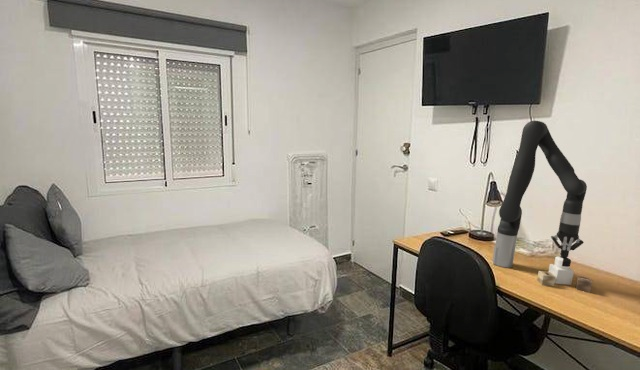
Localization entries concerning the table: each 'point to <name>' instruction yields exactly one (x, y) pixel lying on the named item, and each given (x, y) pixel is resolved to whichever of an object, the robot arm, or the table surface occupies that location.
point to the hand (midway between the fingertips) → (563, 257)
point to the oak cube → (546, 278)
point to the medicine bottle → (562, 270)
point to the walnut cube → (584, 284)
